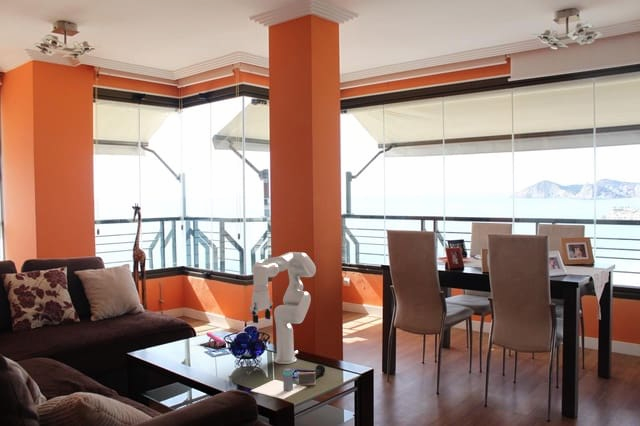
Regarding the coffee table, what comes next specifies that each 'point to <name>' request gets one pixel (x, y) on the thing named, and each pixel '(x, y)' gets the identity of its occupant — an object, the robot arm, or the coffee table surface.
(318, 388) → the coffee table surface
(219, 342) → the pink toy cannon
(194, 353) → the coffee table surface
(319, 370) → the microphone
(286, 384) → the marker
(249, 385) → the coffee table surface
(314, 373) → the word card
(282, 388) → the paper
